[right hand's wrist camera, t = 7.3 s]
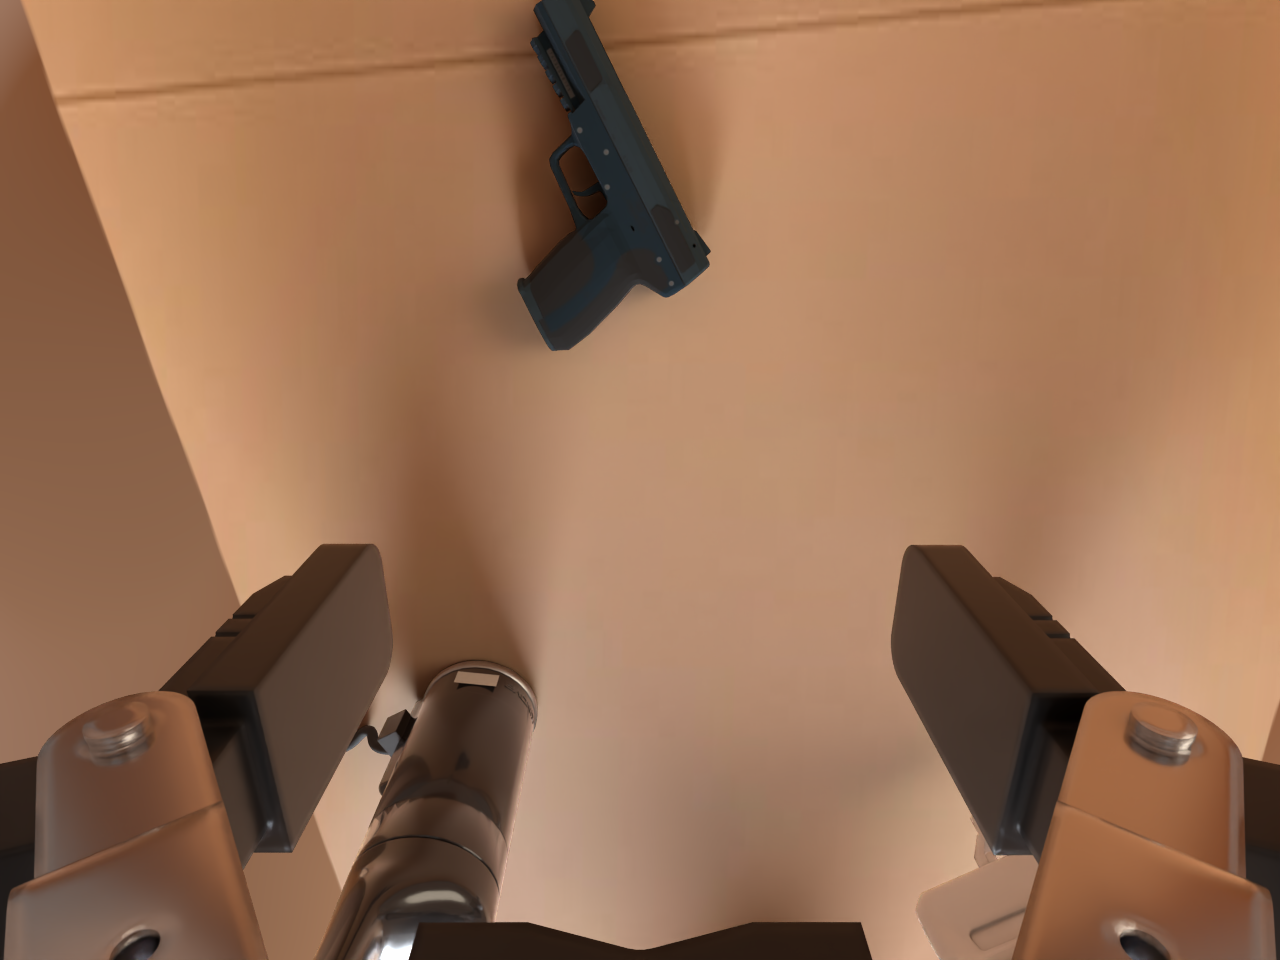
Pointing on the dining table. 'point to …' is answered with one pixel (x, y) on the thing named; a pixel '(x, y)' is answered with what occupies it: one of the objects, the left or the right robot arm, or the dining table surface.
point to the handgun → (604, 192)
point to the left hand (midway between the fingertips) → (1016, 802)
